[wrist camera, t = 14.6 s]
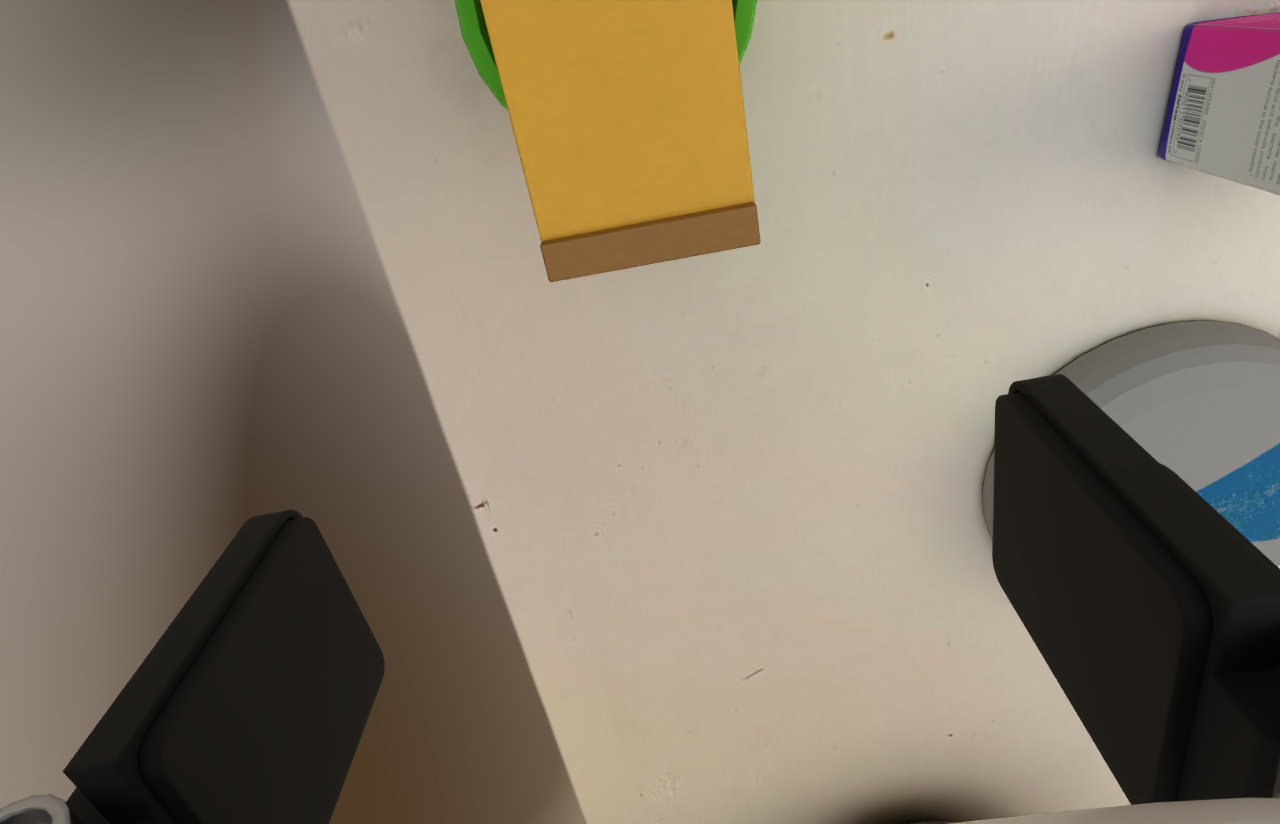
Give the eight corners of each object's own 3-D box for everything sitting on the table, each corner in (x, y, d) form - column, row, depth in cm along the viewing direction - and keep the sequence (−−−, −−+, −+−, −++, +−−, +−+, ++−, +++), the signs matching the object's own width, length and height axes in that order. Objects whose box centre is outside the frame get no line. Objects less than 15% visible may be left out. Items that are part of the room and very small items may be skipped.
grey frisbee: (962, 378, 41) (1001, 425, 37) (1334, 272, 39) (1423, 309, 34) (997, 617, 50) (1031, 678, 46) (1303, 545, 47) (1370, 603, 43)
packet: (428, -285, 20) (391, -332, 17) (679, -348, 19) (688, -408, 16) (558, 249, 26) (549, 282, 23) (746, 214, 26) (761, 244, 23)
